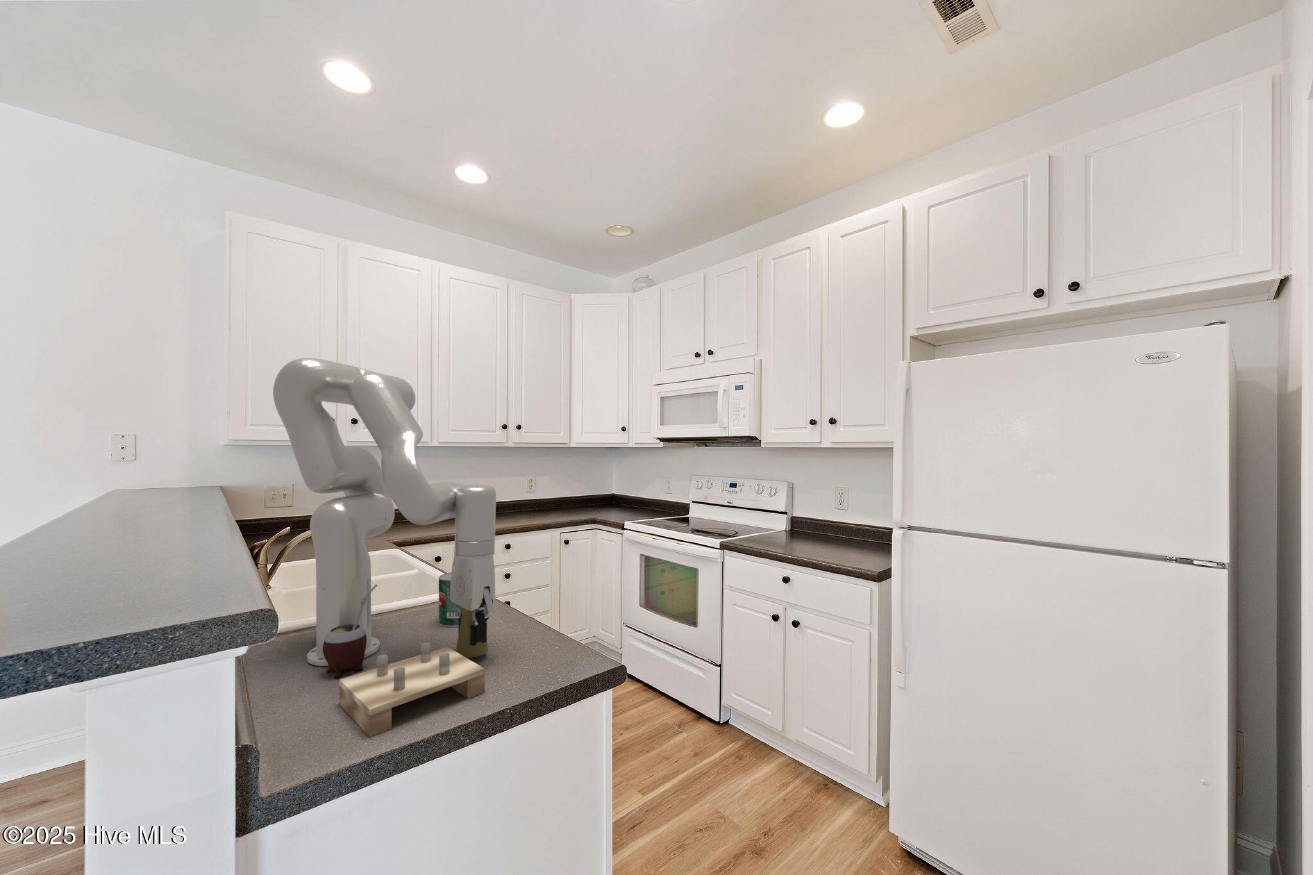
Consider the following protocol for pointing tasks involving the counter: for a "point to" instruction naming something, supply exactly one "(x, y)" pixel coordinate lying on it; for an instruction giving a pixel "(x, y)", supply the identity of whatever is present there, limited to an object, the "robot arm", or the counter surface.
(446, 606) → the canned tomato
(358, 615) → the mate gourd
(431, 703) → the counter surface
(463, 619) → the olive chess pawn
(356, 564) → the robot arm
